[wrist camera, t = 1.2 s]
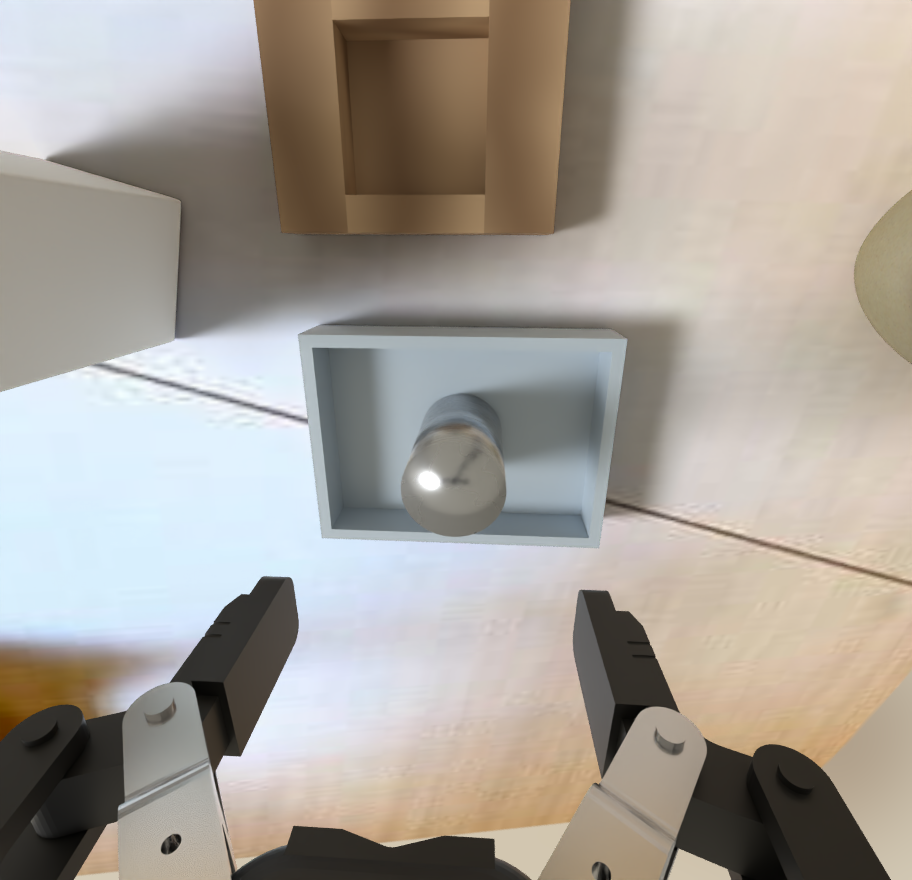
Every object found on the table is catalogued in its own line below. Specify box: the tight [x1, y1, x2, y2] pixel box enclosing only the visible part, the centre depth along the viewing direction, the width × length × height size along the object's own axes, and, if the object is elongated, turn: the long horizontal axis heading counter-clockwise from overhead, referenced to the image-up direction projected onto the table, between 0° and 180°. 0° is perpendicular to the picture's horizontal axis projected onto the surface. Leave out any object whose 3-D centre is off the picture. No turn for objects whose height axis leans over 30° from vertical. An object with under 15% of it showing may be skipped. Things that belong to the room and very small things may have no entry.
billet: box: [401, 393, 506, 537], centre depth 23 cm, size 4×4×7 cm
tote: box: [298, 325, 628, 548], centre depth 25 cm, size 15×11×3 cm
